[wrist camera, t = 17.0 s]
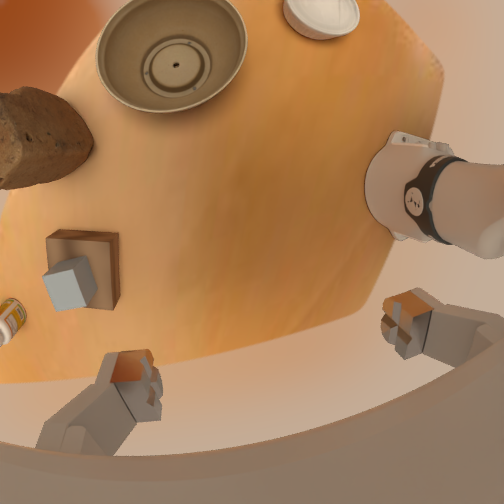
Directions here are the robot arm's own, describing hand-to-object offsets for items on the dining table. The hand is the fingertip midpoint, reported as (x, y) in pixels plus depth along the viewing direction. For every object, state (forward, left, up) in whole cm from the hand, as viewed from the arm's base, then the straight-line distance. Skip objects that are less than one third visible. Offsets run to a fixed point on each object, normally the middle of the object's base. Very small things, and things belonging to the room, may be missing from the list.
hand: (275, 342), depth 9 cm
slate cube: (+21, +6, -28) cm, 36 cm away
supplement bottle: (+40, +12, -33) cm, 53 cm away
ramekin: (-18, -27, -34) cm, 47 cm away
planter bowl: (+3, -19, -33) cm, 39 cm away
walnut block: (+21, +6, -34) cm, 40 cm away
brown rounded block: (+20, -13, -33) cm, 41 cm away
